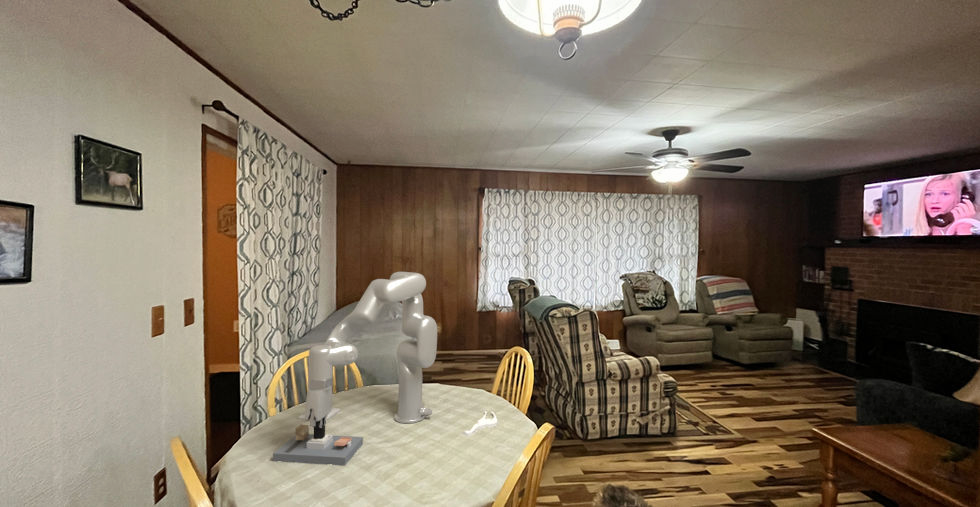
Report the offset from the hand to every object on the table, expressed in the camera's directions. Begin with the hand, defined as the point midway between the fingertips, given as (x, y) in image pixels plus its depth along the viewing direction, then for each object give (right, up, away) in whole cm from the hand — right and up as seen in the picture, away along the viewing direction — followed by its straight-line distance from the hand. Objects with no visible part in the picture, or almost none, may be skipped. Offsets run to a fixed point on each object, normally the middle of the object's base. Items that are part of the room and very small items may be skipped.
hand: (319, 437), depth 132 cm
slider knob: (-8, -2, +4) cm, 9 cm away
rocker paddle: (+8, -2, 0) cm, 8 cm away
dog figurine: (+54, -7, +23) cm, 59 cm away
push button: (0, -2, 0) cm, 2 cm away
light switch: (-13, -6, +30) cm, 34 cm away
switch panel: (0, -5, 0) cm, 5 cm away
